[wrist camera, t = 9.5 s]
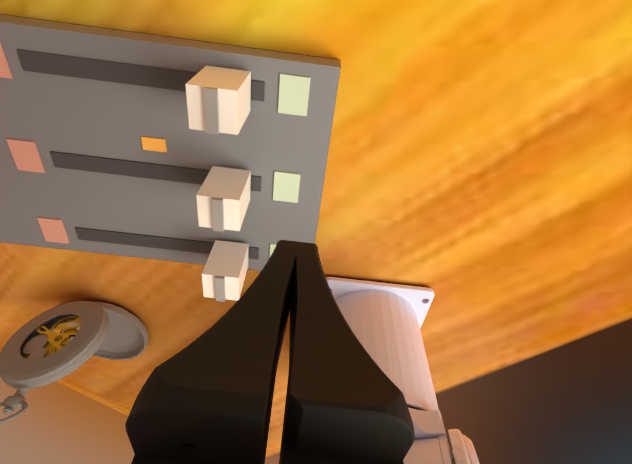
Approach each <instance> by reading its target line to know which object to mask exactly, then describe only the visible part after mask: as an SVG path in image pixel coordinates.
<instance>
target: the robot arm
mask: <svg viewBox="0 0 632 464" xmlns="http://www.w3.org/2000/svg"><path fill="white" fill-rule="evenodd" d="M330 288H331V289H330ZM426 298H427V299H426ZM433 298H434V291H433V289H431V288H427V287H418V286H409V285H400V284H391V283H382V282H373V281H364V280H355V279H345V278H336V277H325V275H324V272H323V269H322V265H321V262H320V258H319V254H318V247H317V245H316V244H315V243H306V242H297V241H289V240H279V241H278V242H277V244H276V247H275V249H274V251H273V253H272V255H271V256H270V258H269V260H268V261H267V263H266V265H265V266H264V268H263V269H262V271H261V272H260V274H259V275H258V277H257V278H256V279H255V281H254V282H253V283H252V284H251V286H250V287H249V288H248V289H247V291H246V292H245V293H244V294H243V296H242V297H241V298H240V299H239V300H238V301H237V302H236V303H235V304H234V306H233V307H232V308H231V309H230V310H229V311H228V312H227V313H226V314H225V315H224V316H223V317H222V318H220V319H219V320H218V321H217V322H216V323H215V324H214V325H213V326H212V327H211V328H210V329H208V330H207V331H206V332H205V333H203V334H202V335H201V336H200V337H198V338H197V339H196V340H195V341H193V342H192V343H191V344H190V345H188V346H187V347H186V348H184V349H183V350H181V351H180V352H179V353H177V354H176V355H174V356H173V357H171V358H170V359H168V360H167V361H165V362H164V363H162V364H161V365H159V366H157V367H156V368H155V369H154V370H153V372H152V373H151V375H150V376H149V378H148V379H147V381H146V382H145V384H144V386H143V387H142V389H141V391H140V393H139V394H138V396H137V398H136V400H135V402H134V405H133V407H132V409H131V412H130V414H129V417H128V419H127V421H126V424H125V425H126V432H127V434H128V437H129V440H130V442H131V445H132V448H133V450H134V453H135V456H134V458H133V461H132V463H131V464H264V463H265V455H266V447H267V440H268V432H269V424H270V416H271V408H272V400H273V393H274V385H275V377H276V371H277V365H278V360H279V356H280V351H281V347H282V342H283V338H284V333H285V329H286V324H287V320H288V316H289V311H290V351H289V376H288V386H287V395H286V404H285V414H284V423H283V432H282V441H281V451H280V460H279V464H453V462H452V458H451V453H450V449H449V445H448V441H447V437H446V433H445V429H444V425H443V421H442V417H441V414H440V411H439V410H438V405H437V401H436V396H435V392H434V388H433V383H432V379H431V375H430V370H429V366H428V362H427V358H426V353H425V349H424V345H423V340H422V336H421V332H420V328H421V326H422V323H423V321H424V319H425V316H426V314H427V312H428V310H429V307H430V305H431V303H432V300H433ZM423 299H424V300H423ZM448 432H449V436H450V440H451V444H452V448H453V451H452V454H453V459H454V463H455V464H479V461H478V458H477V455H476V452H475V449H474V446H473V443H472V441H471V440H470V439H469V438H467V437H466V436H465V435H462V434H461V432H460V431H459V430H458V429H450V430H448Z"/></svg>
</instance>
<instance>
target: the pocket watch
mask: <svg viewBox="0 0 632 464" xmlns="http://www.w3.org/2000/svg"><path fill="white" fill-rule="evenodd" d="M54 329H62V330H61V332H63V333H61V332H60V333H59V334H57V333H54V332H52V331H53V330H54ZM55 338H56V339H55ZM148 339H149V336H148V332H147V329H146V327H145V326H144V324H143V323H142V322H141V321H140V320H139V319H138V318H137V317H136V316H135V315H133V314H131V313H130V312H128V311H127V310H125V309H123V308H121V307H118V306H115V305H113V304H109V303H104V302H92V301H74V302H68V303H65V304H62V305H59V306H56V307H54V308H52V309H49V310H47V311H45V312H43V313H42V314H40V315H38V316H36V317H35V318H33V319H32V320H30V321H29V322H28V323H26V324H25V325H24V326H22V327H21V328H20V329H19V330H18V331H17V332H16V333H15V334H14V335H13V336H12V337H11V338H10V339H9V340H8V341H7V343H6V344H5V346H4V347H3V349H2V351H1V353H0V377H1V378H2V379H3V381H4V382H5V383H6V384H7V385H9V386H11V387H13V388H15V389H17V390H18V391H16V393H15V395H13V396H9V397H7V398H6V399H5V400H4V401H3V402H2V403H0V407H1V406H5V408H4V409H3V411H4V413H5V414H9V413H12V412H13V411H14V410H13V409H14V408H18V407H21V406H22V409H21V410H20V411H19V412H17V413H16V414H14V415H11V416H9V417H7V418H4V419H1V420H0V423H3V422H7V421H9V420H12V419H14V418H16V417H18V416H19V415H21V414H22V413H23V412H25V411H26V409H27V407H28V404H27V402H25V398H24V395H25V393H27V391H28V390H29V389H32V388H38V387H42V386H45V385H48V384H50V383H53V382H55V381H57V380H59V379H61V378H63V377H65V376H67V375H68V374H70V373H72V372H74V371H75V370H76V369H77V368H79V367H80V366H81V365H82V364H83V363H85V362H86V361H87V360H88V359H90V358H91V356H92V355H94V356H97V357H101V358H106V359H110V360H127V359H132V358H135V357H137V356H139V355H140V354H142V353H143V351H144V350H145V349H146V347H147V344H148ZM54 340H56V341H54ZM67 341H68V342H69V343H68V342H67ZM66 342H67V343H68V344H67V343H66Z"/></svg>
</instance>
